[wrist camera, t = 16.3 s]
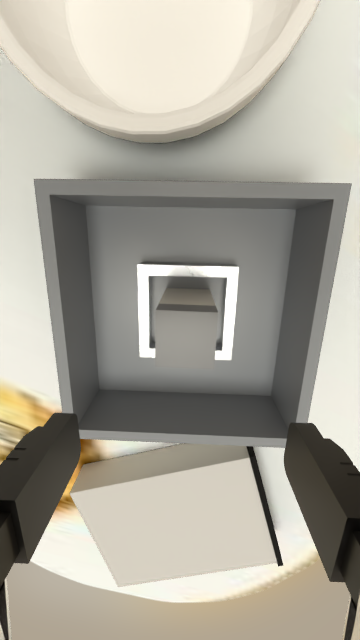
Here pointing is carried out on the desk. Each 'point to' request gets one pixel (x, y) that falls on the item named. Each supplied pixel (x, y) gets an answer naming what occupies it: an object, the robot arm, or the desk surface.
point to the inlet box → (189, 273)
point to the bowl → (151, 58)
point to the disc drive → (177, 512)
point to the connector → (186, 329)
